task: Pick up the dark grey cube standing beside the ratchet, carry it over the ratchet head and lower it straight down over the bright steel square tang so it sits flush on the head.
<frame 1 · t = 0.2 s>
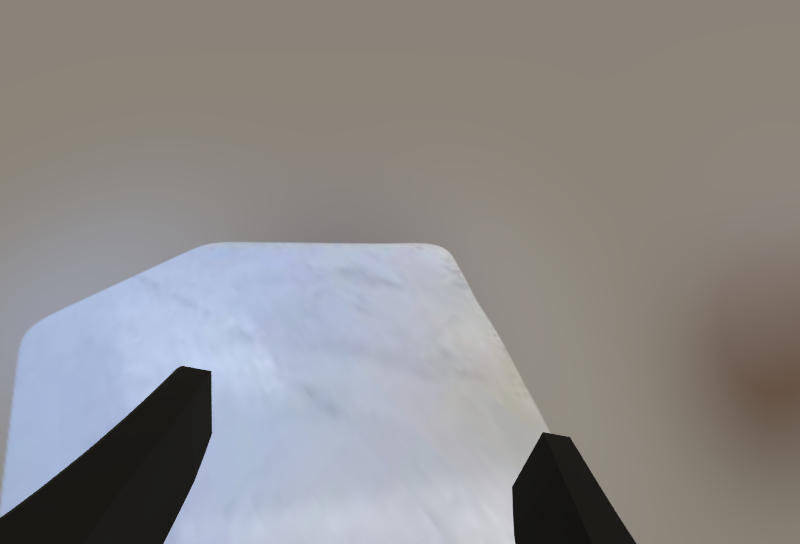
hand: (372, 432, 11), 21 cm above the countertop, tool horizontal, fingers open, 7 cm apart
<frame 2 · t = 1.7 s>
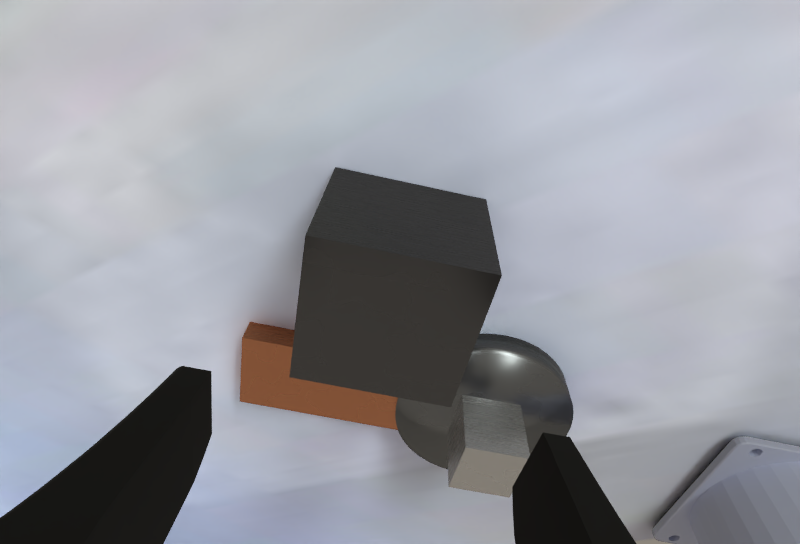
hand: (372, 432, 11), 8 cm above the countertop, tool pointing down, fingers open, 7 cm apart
dark grey cube: (396, 248, 18), on the countertop
ratchet: (480, 397, 22), on the countertop
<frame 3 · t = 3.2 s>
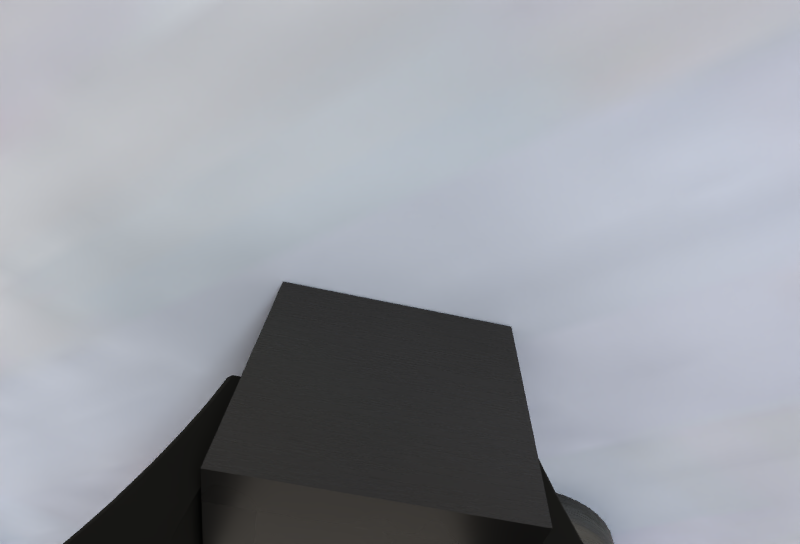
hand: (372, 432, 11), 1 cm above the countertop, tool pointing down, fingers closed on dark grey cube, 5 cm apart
dark grey cube: (378, 385, 12), on the countertop, touching gripper
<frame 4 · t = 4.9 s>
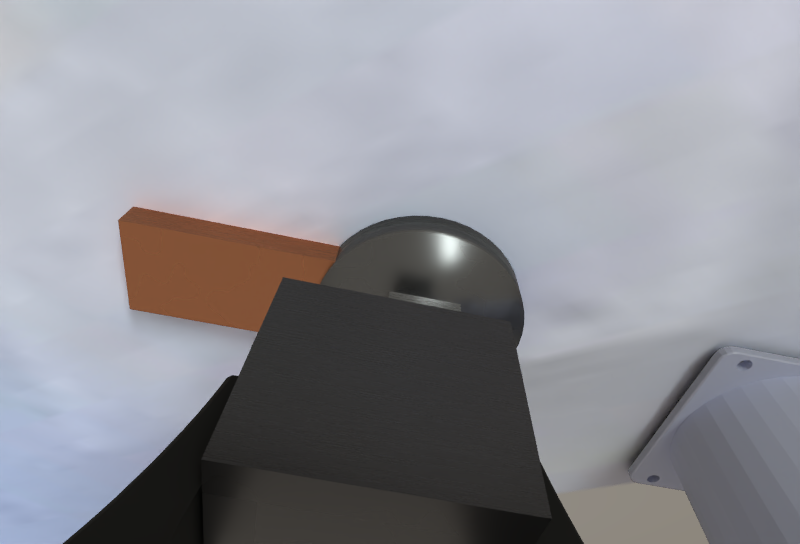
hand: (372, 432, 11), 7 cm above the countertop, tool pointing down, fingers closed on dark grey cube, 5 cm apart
dark grey cube: (378, 380, 12), point 6 cm above the countertop, touching gripper
ratchet: (418, 304, 18), on the countertop
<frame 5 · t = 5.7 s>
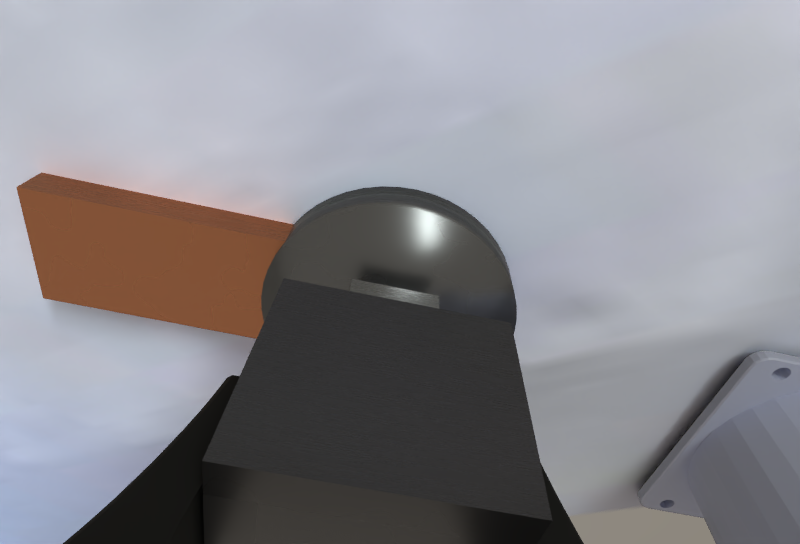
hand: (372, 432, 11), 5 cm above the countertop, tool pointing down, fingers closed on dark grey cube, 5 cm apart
dark grey cube: (378, 381, 12), point 4 cm above the countertop, touching gripper
ratchet: (390, 296, 15), on the countertop
when the fingers open (3 cm above the countertop, at t = 6.6 s): dark grey cube stays where it is, resting on ratchet.
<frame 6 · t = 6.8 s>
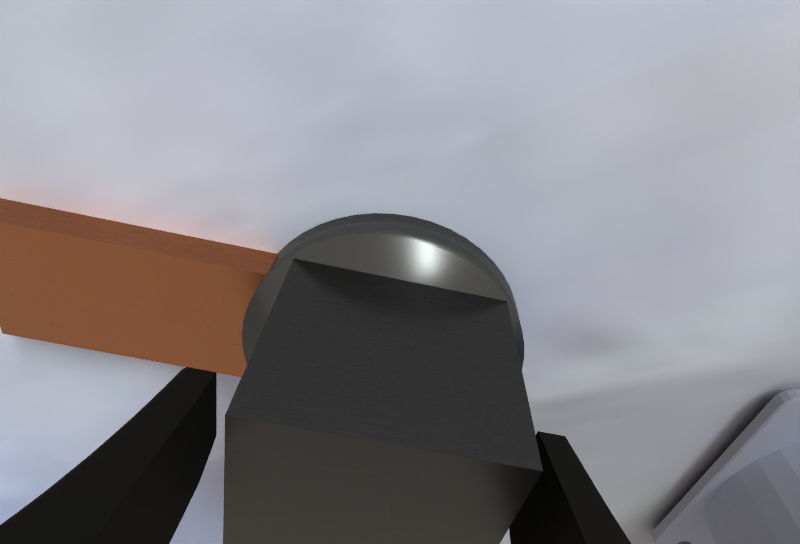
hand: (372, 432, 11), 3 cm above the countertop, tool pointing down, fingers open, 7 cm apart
dark grey cube: (382, 358, 13), point 1 cm above the countertop, touching ratchet
ratchet: (385, 329, 14), on the countertop, touching dark grey cube
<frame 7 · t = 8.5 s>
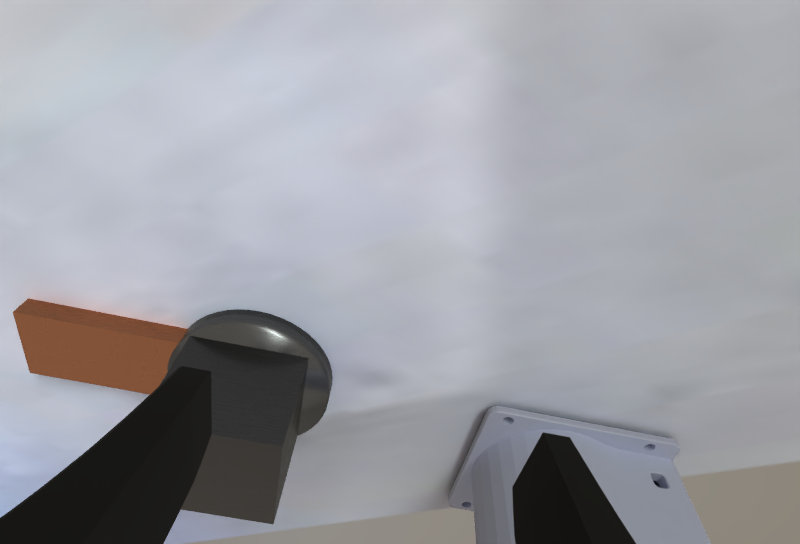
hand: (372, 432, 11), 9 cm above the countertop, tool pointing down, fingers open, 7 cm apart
dark grey cube: (247, 387, 22), point 1 cm above the countertop, touching ratchet
ratchet: (256, 369, 23), on the countertop, touching dark grey cube
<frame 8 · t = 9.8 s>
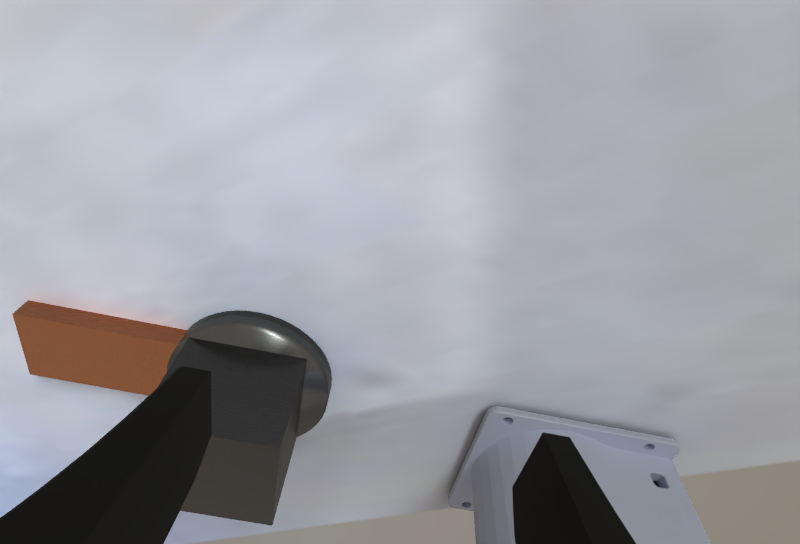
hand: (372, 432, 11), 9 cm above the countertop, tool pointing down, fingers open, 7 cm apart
dark grey cube: (246, 388, 22), point 1 cm above the countertop, touching ratchet
ratchet: (255, 371, 23), on the countertop, touching dark grey cube
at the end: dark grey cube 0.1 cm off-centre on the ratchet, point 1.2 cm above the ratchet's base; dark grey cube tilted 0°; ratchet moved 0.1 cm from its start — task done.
